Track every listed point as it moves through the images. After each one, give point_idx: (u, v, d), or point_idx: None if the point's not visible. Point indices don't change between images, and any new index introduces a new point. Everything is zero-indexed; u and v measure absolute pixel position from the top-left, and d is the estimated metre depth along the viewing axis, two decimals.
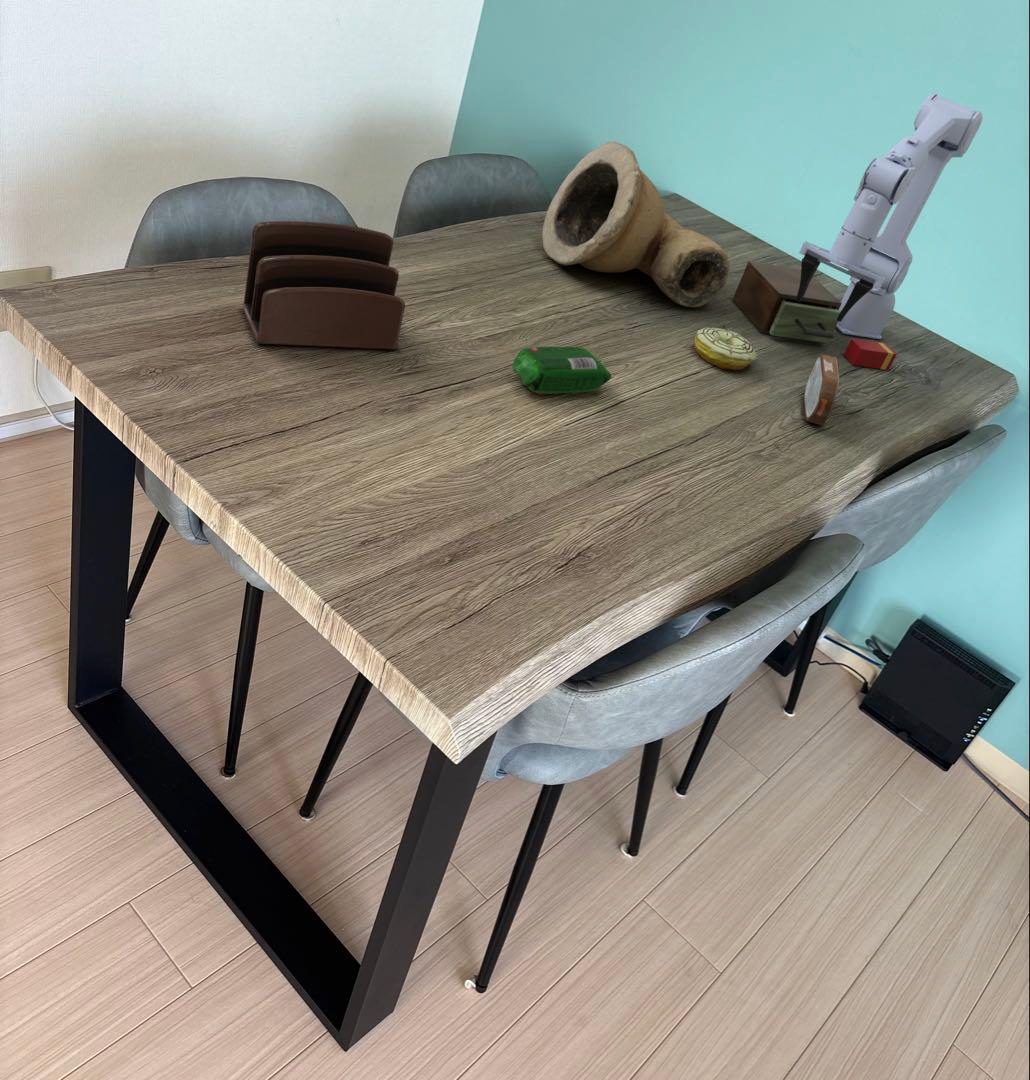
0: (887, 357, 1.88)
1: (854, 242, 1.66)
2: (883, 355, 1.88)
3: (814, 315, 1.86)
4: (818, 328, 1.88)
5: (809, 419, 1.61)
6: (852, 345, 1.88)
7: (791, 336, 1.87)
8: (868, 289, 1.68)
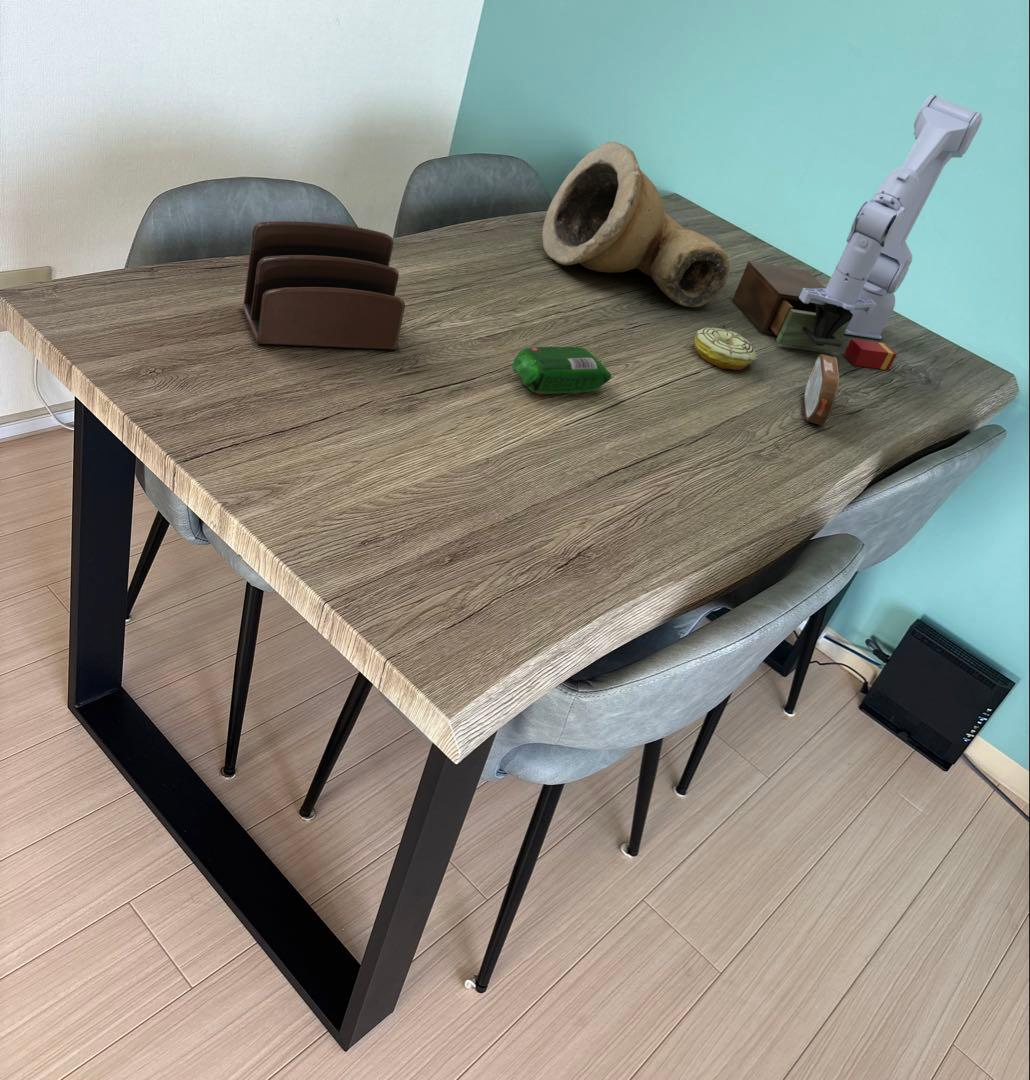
0: (887, 357, 1.88)
1: (859, 285, 1.74)
2: (883, 355, 1.88)
3: None
4: None
5: (809, 419, 1.61)
6: (852, 345, 1.88)
7: (798, 344, 1.85)
8: (852, 316, 1.78)
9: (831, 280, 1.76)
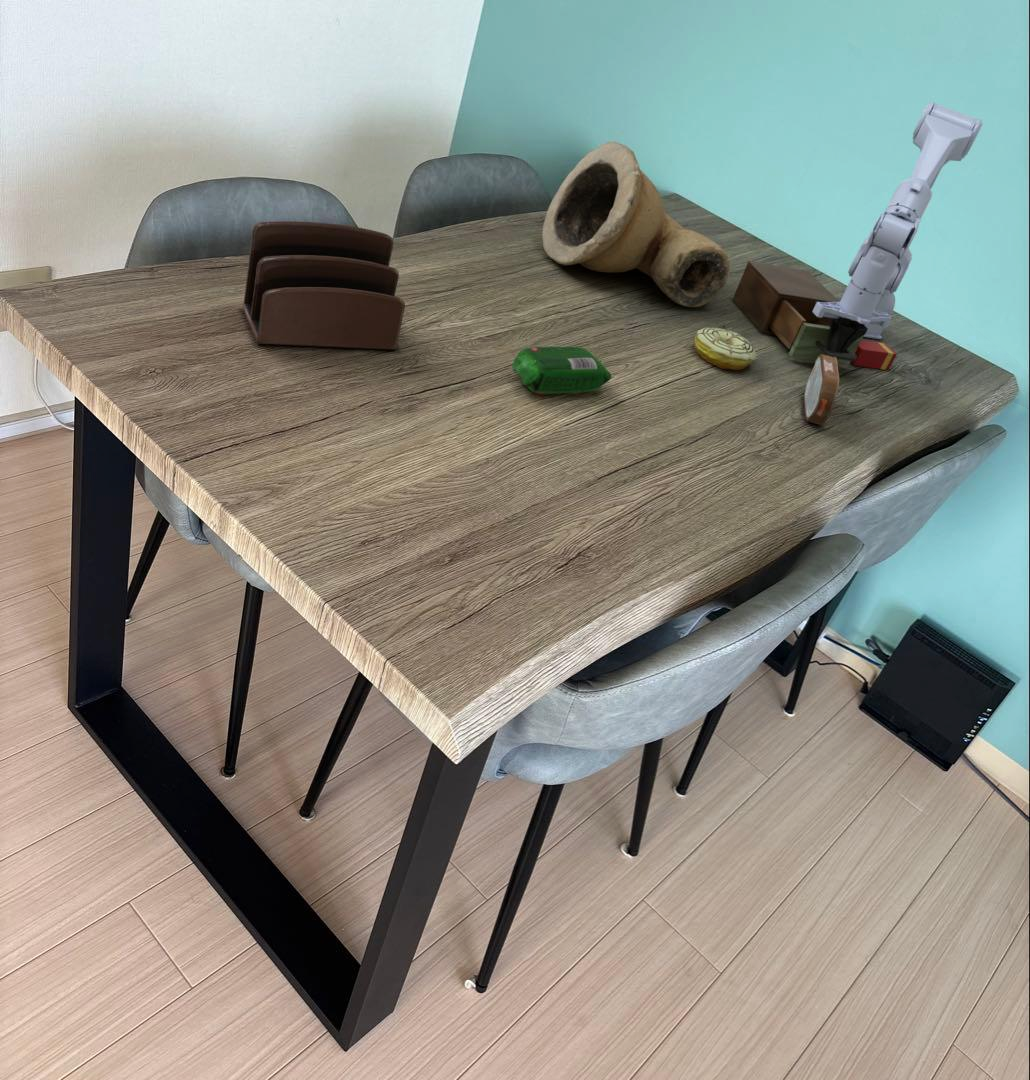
0: (887, 357, 1.88)
1: (874, 299, 1.70)
2: (883, 355, 1.88)
3: None
4: None
5: (809, 419, 1.61)
6: None
7: (811, 358, 1.81)
8: (866, 330, 1.75)
9: (845, 294, 1.72)
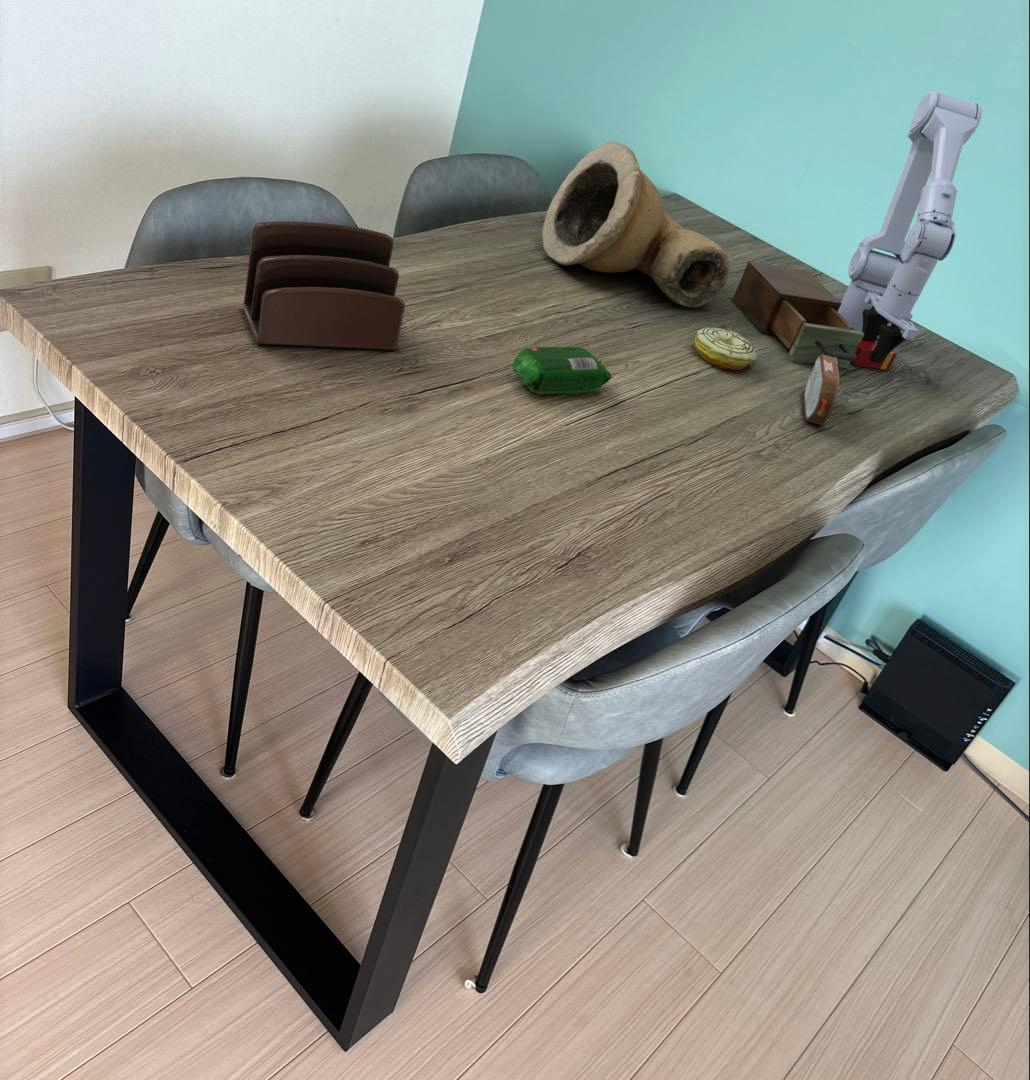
0: (887, 357, 1.88)
1: None
2: None
3: (835, 337, 1.80)
4: (839, 349, 1.82)
5: (809, 419, 1.61)
6: None
7: (811, 358, 1.81)
8: None
9: (904, 305, 1.81)
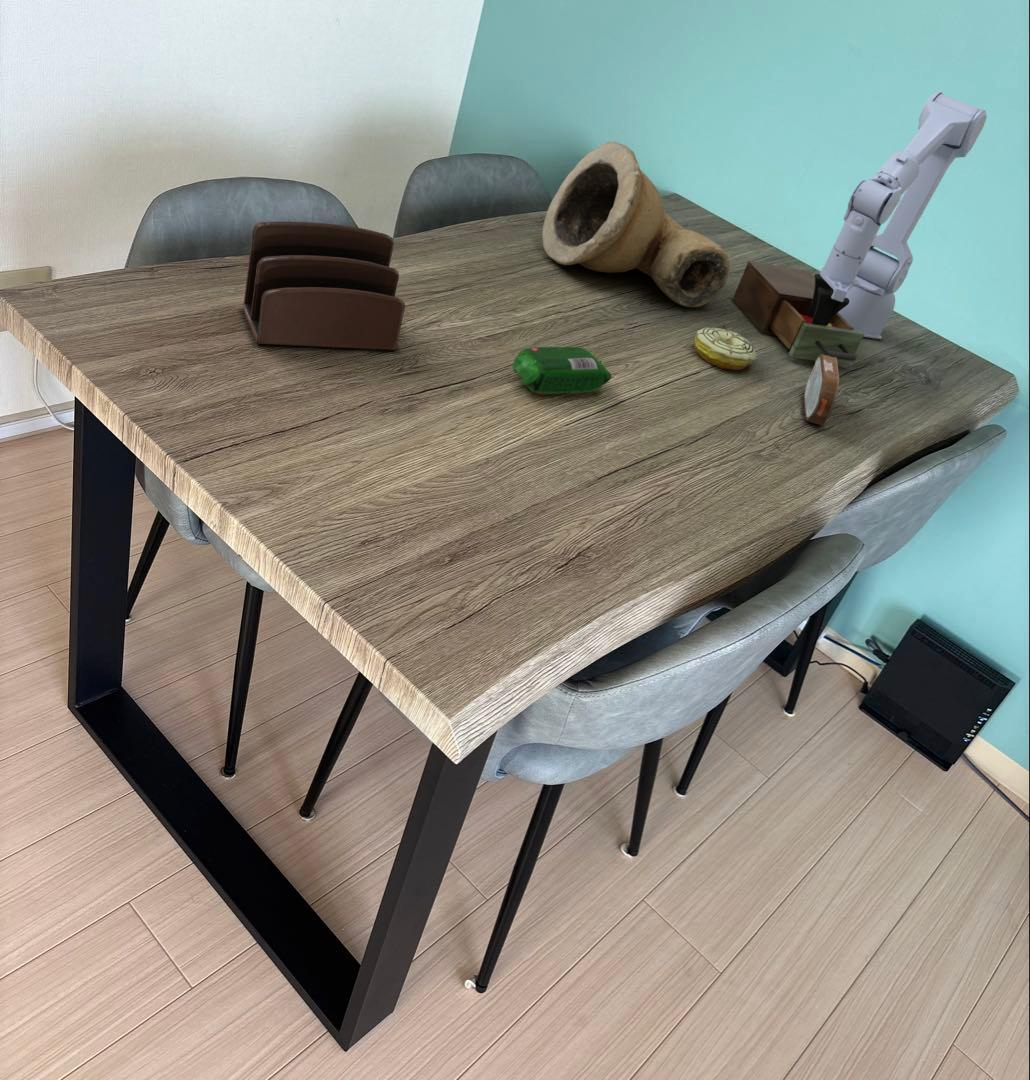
0: None
1: None
2: None
3: (835, 337, 1.80)
4: (839, 349, 1.82)
5: (809, 419, 1.61)
6: None
7: (811, 358, 1.81)
8: None
9: (842, 267, 1.75)
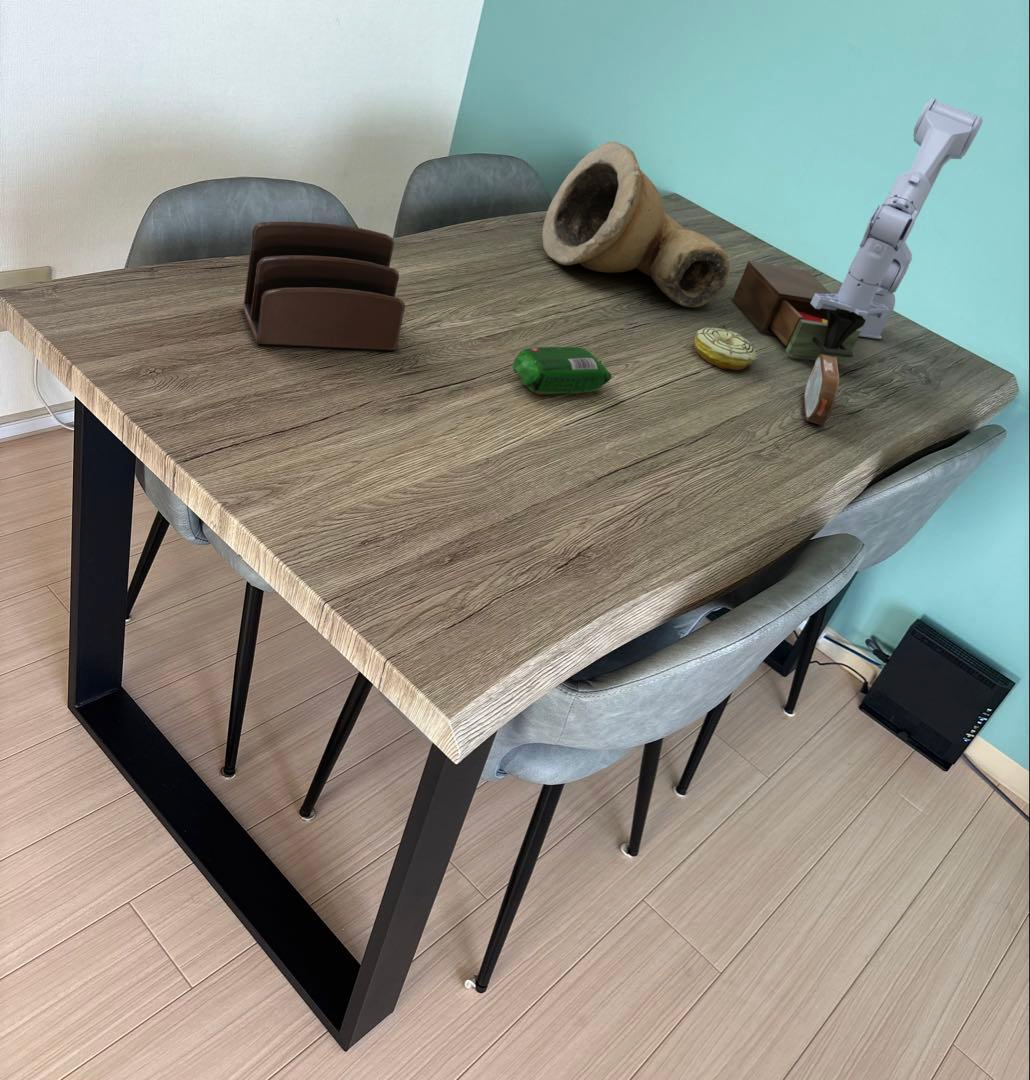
0: None
1: (872, 291, 1.71)
2: None
3: None
4: None
5: (809, 419, 1.61)
6: None
7: (808, 355, 1.82)
8: (864, 322, 1.75)
9: (843, 285, 1.73)
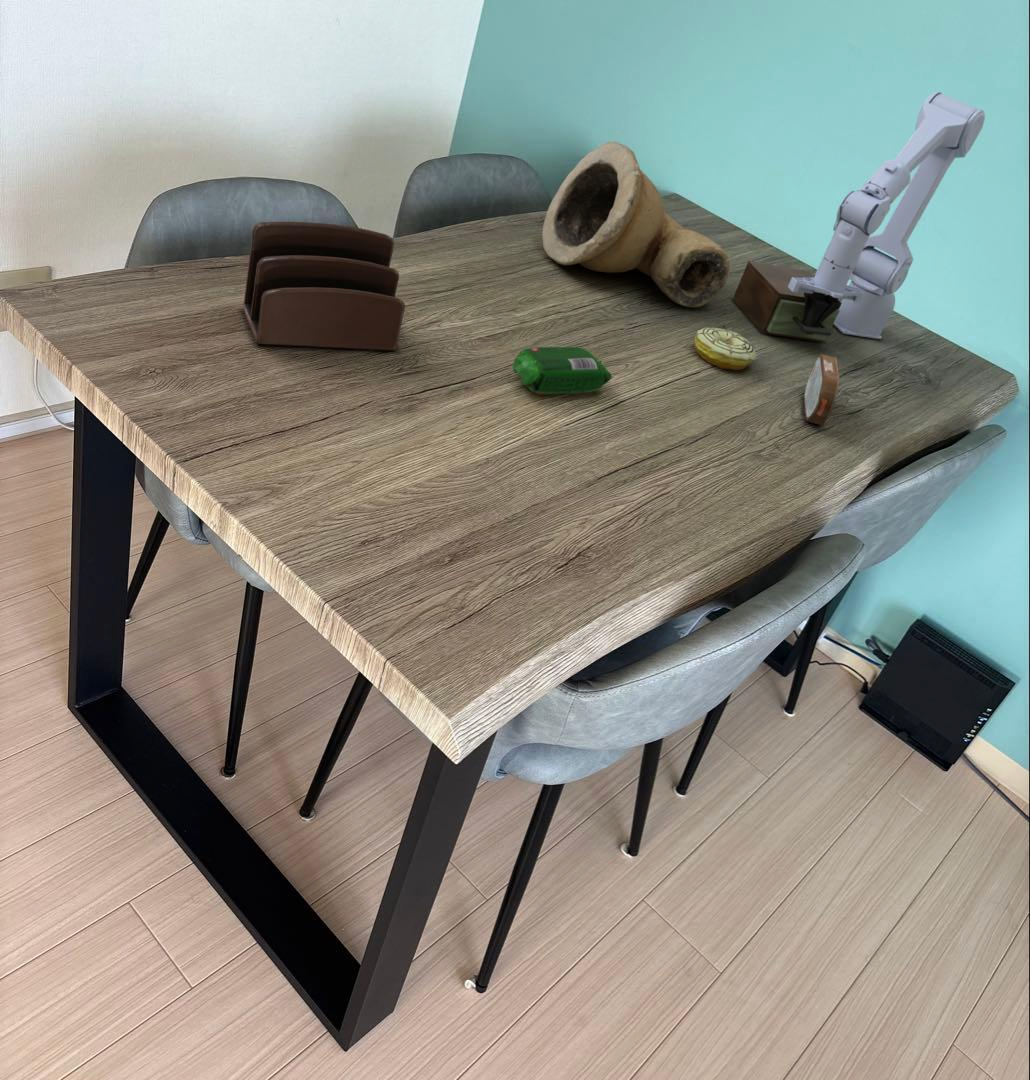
0: None
1: (846, 274, 1.77)
2: None
3: None
4: None
5: (809, 419, 1.61)
6: None
7: (789, 333, 1.88)
8: (840, 305, 1.82)
9: (819, 269, 1.79)
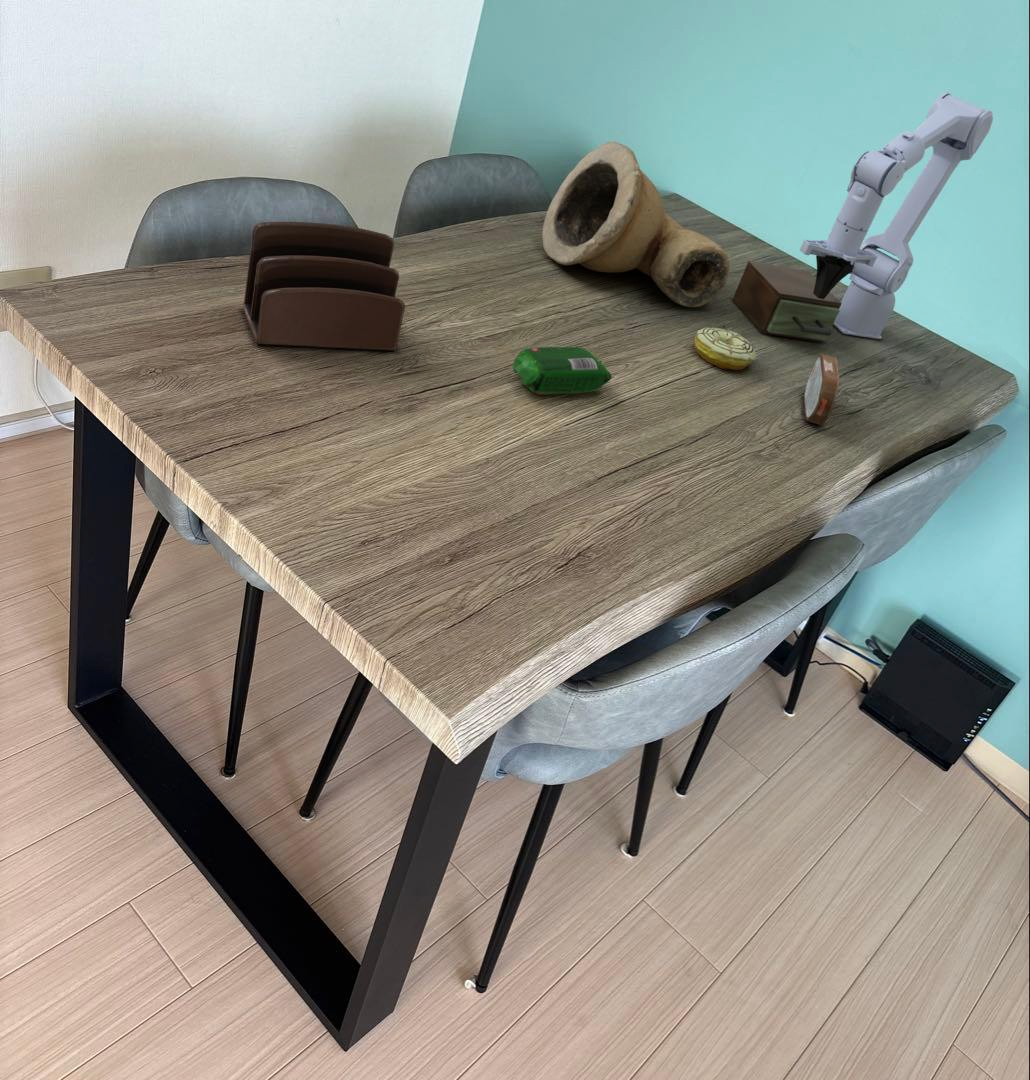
0: None
1: (859, 236, 1.75)
2: None
3: (812, 313, 1.86)
4: (815, 325, 1.88)
5: (809, 419, 1.61)
6: None
7: (789, 333, 1.88)
8: (853, 268, 1.79)
9: (832, 232, 1.77)
